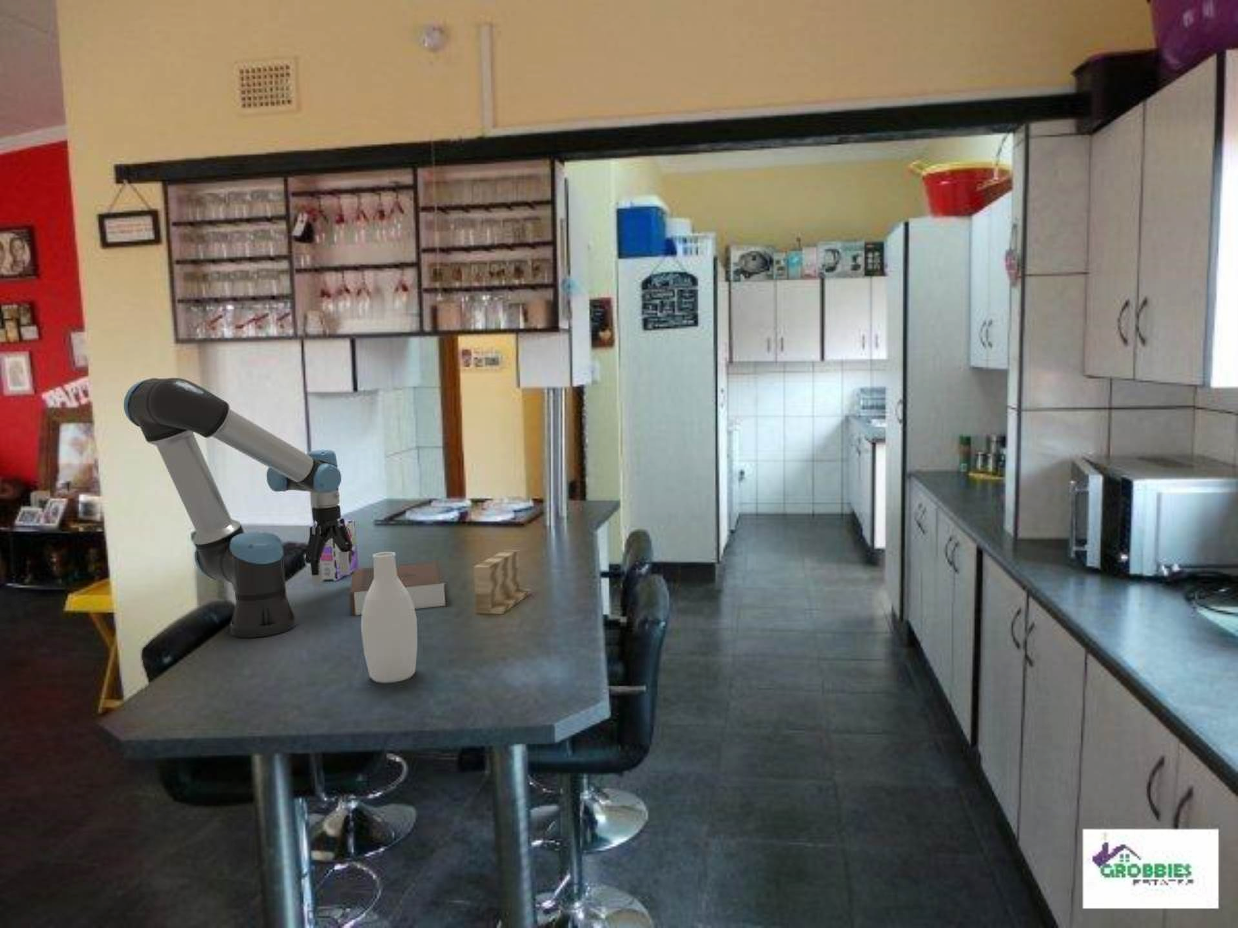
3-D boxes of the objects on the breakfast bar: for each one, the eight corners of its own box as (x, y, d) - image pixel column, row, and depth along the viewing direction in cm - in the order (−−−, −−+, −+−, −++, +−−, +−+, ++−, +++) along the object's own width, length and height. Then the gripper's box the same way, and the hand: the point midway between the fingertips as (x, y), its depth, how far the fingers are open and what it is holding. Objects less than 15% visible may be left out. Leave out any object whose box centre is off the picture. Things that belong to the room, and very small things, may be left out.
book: (351, 617, 230) (349, 592, 229) (355, 591, 257) (353, 569, 256) (447, 607, 236) (446, 583, 235) (441, 582, 263) (440, 561, 262)
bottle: (425, 664, 189) (417, 547, 186) (414, 683, 178) (406, 558, 175) (372, 667, 189) (363, 549, 186) (358, 686, 178) (348, 561, 175)
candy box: (337, 581, 268) (332, 527, 266) (319, 581, 269) (314, 527, 267) (359, 570, 281) (355, 519, 279) (342, 570, 282) (338, 519, 280)
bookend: (501, 614, 225) (499, 567, 224) (475, 613, 227) (472, 566, 226) (530, 593, 244) (528, 550, 243) (506, 592, 246) (503, 549, 245)
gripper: (312, 513, 236) (318, 591, 238) (361, 498, 260) (366, 569, 262) (287, 513, 238) (293, 591, 240) (338, 498, 262) (343, 569, 264)
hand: (331, 580), depth 251 cm, fingers open, 13 cm apart
